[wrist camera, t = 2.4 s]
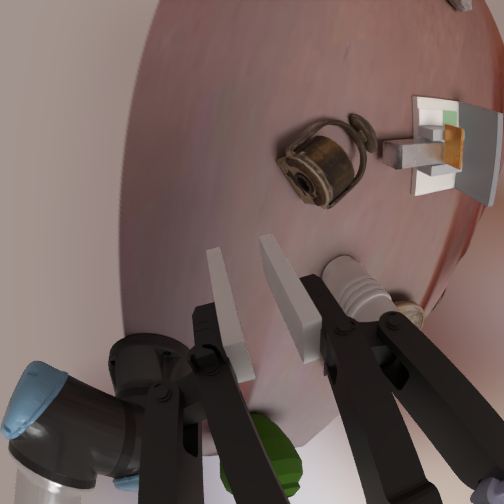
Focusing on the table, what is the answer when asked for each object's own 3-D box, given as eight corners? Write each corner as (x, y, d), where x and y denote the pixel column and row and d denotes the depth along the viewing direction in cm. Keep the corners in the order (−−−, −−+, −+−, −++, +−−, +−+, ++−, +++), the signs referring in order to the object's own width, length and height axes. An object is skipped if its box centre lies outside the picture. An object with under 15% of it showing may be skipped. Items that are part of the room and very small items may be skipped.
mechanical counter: (277, 120, 22) (300, 225, 26) (396, 108, 22) (409, 200, 26) (266, 127, 29) (285, 209, 32) (365, 114, 29) (378, 189, 32)
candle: (315, 263, 38) (368, 341, 26) (357, 246, 39) (419, 312, 26) (321, 296, 42) (366, 370, 30) (359, 279, 42) (410, 345, 30)
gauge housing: (410, 193, 36) (451, 219, 28) (412, 95, 28) (461, 105, 20) (456, 184, 37) (493, 205, 30) (460, 101, 29) (502, 113, 21)
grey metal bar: (382, 163, 31) (414, 178, 26) (381, 119, 28) (415, 128, 23) (431, 157, 32) (461, 170, 27) (432, 119, 29) (464, 128, 24)
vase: (206, 434, 63) (222, 510, 43) (213, 405, 54) (234, 504, 34) (272, 428, 69) (295, 497, 49) (293, 397, 60) (326, 483, 39)
